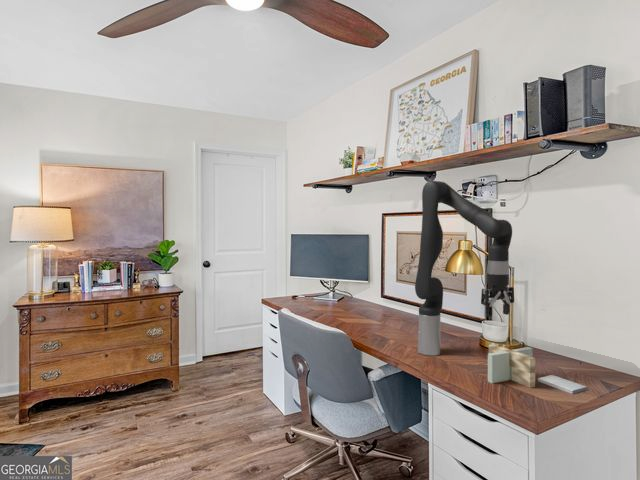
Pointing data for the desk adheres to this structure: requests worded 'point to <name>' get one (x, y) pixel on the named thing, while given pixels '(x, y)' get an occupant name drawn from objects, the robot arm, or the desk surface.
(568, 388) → the hard drive
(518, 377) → the pale wooden plank
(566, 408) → the desk surface
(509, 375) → the slotted plate
